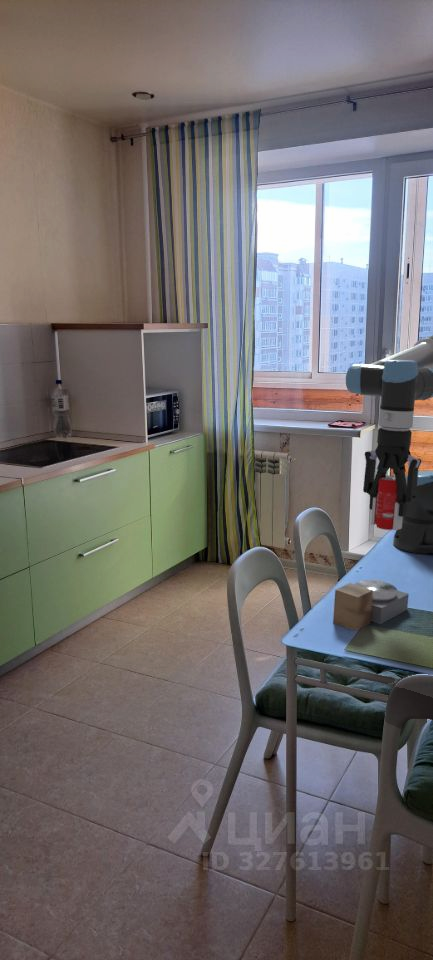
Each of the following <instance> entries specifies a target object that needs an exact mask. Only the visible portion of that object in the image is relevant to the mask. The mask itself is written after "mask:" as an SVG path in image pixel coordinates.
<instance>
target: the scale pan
mask: <svg viewBox="0 0 433 960" xmlns="http://www.w3.org/2000/svg"><path fill="white" fill-rule="evenodd" d="M354 584H355V585H358V586H361V587H364V588H367V589H370V590H373V596H372V602H390V601H393V600H395V599H396V597H397V590H398V589H397V587H396V586H395V585H393V584H391V583H388V582H385V581H381V580H374V579H373V580H372V579H369V580H368V579H366V580H365V579H364V580H360V581H359V580H358V581H357V582H355V583H354Z"/></svg>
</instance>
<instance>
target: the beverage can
mask: <svg viewBox="0 0 433 960" xmlns="http://www.w3.org/2000/svg"><path fill="white" fill-rule="evenodd" d="M397 501H399V500H398V493H397V486H396V479H395V475H387V474H386V475H385V476H382V477H380V479H379V485H378V496H377V507H376V519H375V522H376V524H375V525H376V528H378V529H381V530H385V531H394V530H393V522H394V511H395V502H397Z"/></svg>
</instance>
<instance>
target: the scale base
mask: <svg viewBox="0 0 433 960" xmlns="http://www.w3.org/2000/svg"><path fill="white" fill-rule="evenodd" d="M408 602H409V593H406V592H403V591H400V590H398V589H397V597H396V599H395V600H393V601H390V602H372V608H371V621H370V622H373V623H375V624H378V625H382V624H384V623H385V622H387V621H390V620H391V619H393V618H395V617H396V616H398V615H400V614H402V613H404V612H405V611H407V610H408V605H409V603H408Z"/></svg>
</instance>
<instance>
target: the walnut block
mask: <svg viewBox="0 0 433 960" xmlns="http://www.w3.org/2000/svg"><path fill="white" fill-rule="evenodd" d="M372 596H373V590H370V589H367V588H364V587H361V586H358V585H355V583H352V582H349V583H347V584H344V585H343V586H340V587H338V588H336V589H334V601H333V602H334V603H333V604H334V605H333V617H332V618H333V619H332V623H333V624H336V625H339V626H342V627H344V628H347V629H349V630H352V631H354V632H357V631H358V630H361V629H362V628H364V627H366V626H368V625H370V624H371V622H372V621H371V608H372ZM367 624H368V625H367ZM365 625H366V626H365ZM356 630H357V631H356Z"/></svg>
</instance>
